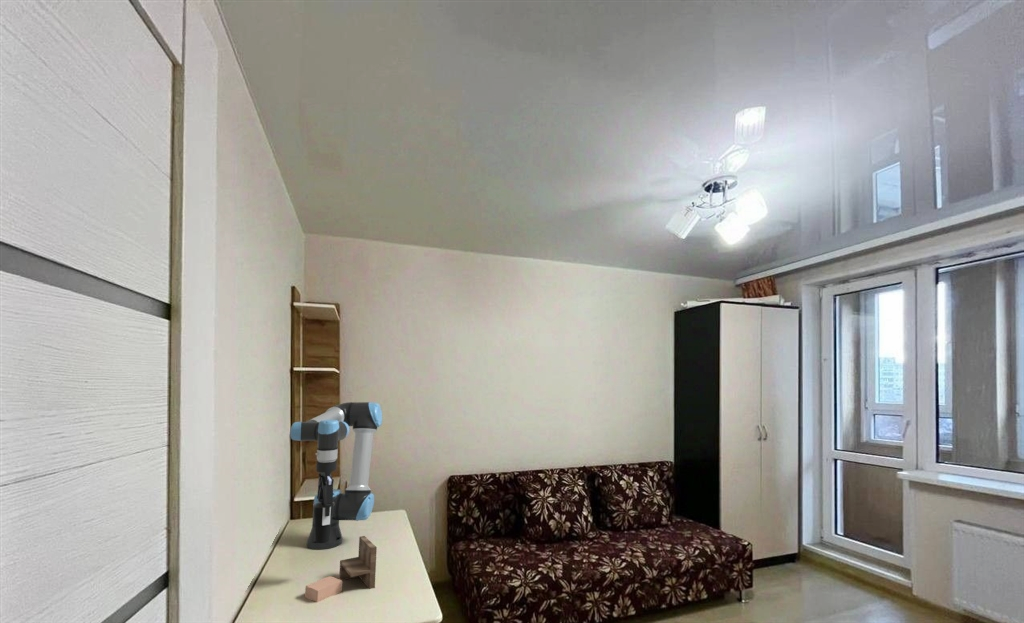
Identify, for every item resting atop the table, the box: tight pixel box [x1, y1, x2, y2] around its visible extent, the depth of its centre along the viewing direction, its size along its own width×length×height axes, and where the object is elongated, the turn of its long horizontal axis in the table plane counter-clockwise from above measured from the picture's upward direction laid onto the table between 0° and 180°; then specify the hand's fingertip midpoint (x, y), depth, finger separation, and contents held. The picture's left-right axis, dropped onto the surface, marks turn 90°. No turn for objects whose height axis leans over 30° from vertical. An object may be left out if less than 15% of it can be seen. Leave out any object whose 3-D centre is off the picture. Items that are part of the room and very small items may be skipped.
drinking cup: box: [313, 500, 335, 543], centre depth 183 cm, size 8×8×20 cm
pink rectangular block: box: [304, 575, 343, 603], centre depth 170 cm, size 7×10×4 cm
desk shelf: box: [338, 535, 378, 589], centre depth 180 cm, size 15×9×14 cm, turn 34°
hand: (323, 521), depth 183 cm, fingers closed on drinking cup, 7 cm apart
